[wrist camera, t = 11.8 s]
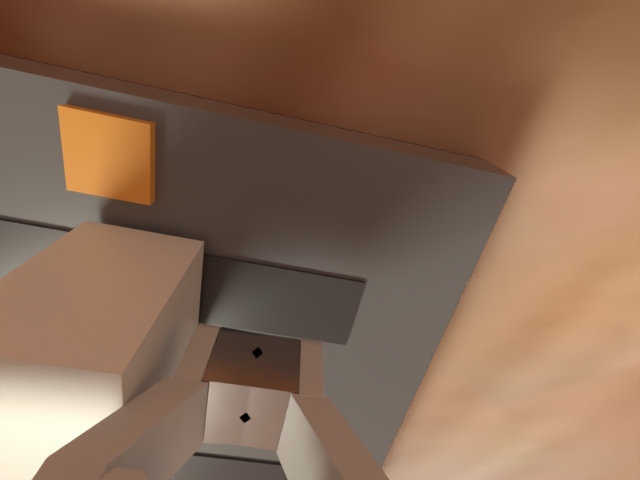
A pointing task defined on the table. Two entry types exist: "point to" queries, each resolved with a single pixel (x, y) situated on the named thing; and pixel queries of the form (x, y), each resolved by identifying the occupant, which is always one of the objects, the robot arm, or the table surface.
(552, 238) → the table surface
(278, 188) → the panel
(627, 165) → the table surface
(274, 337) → the robot arm
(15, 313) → the block
